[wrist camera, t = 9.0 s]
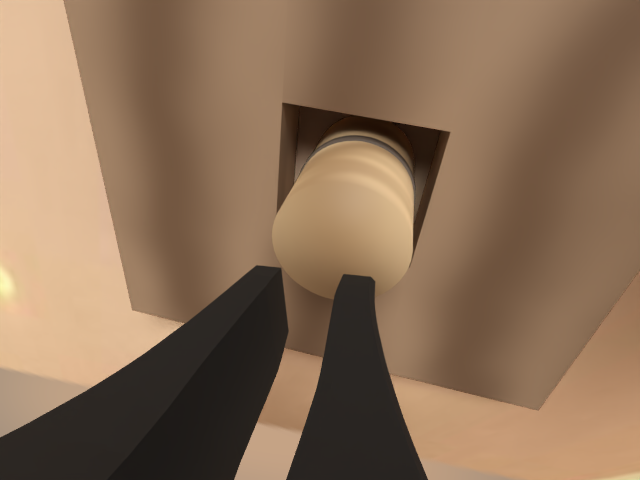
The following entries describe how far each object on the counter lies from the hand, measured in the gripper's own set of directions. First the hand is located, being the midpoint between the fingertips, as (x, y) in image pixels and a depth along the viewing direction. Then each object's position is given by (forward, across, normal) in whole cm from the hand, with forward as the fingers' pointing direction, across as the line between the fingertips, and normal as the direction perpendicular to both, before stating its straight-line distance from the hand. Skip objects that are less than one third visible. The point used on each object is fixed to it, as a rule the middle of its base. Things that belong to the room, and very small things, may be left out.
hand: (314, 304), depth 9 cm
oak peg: (+8, 0, 0) cm, 8 cm away
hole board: (+8, 0, 0) cm, 8 cm away
